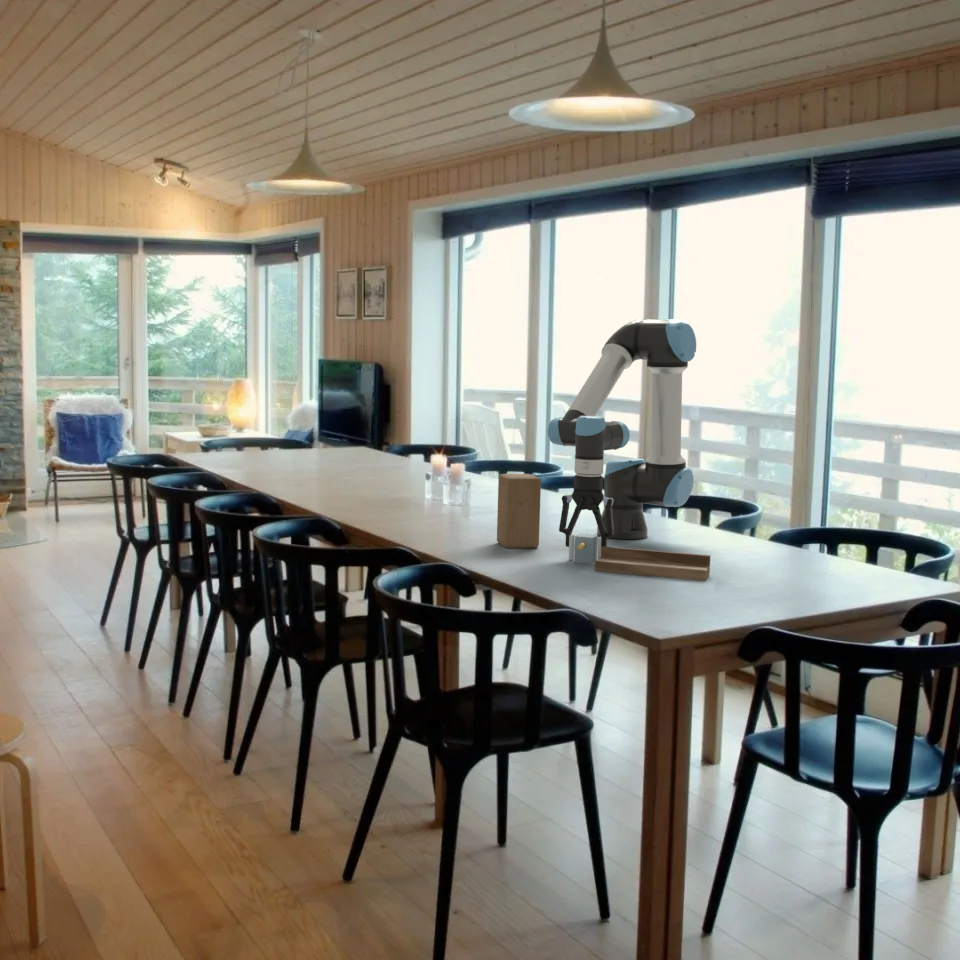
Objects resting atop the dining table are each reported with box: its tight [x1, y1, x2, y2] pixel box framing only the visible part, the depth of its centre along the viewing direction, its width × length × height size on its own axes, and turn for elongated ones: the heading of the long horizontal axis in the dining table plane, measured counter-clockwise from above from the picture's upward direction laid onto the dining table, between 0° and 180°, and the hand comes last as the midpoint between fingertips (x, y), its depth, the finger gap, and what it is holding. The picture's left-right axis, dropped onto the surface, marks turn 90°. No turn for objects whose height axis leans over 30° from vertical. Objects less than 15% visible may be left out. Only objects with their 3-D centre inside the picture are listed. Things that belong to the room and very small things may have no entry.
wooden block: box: [496, 473, 542, 549], centre depth 323 cm, size 10×10×20 cm
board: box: [594, 546, 711, 582], centre depth 291 cm, size 8×28×5 cm, turn 72°
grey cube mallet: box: [573, 533, 599, 565], centre depth 301 cm, size 10×5×7 cm, turn 162°
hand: (585, 560), depth 304 cm, fingers open, 7 cm apart
